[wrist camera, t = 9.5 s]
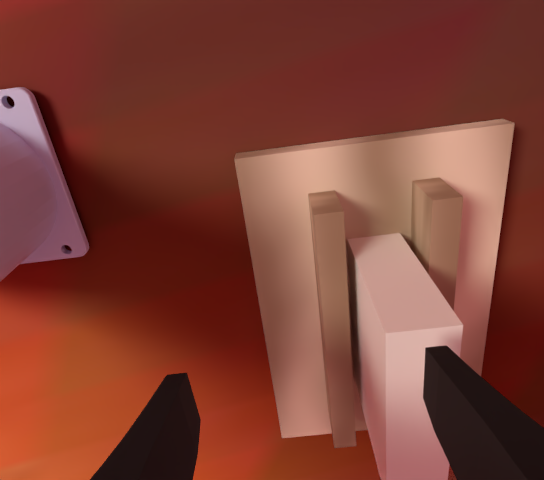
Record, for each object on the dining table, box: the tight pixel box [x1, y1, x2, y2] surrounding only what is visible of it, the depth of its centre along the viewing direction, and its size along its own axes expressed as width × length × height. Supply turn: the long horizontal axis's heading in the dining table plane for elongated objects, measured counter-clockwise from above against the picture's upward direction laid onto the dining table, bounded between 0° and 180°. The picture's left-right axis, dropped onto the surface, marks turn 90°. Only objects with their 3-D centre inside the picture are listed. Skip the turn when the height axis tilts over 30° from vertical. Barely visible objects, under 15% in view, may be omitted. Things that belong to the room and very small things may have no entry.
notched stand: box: [234, 119, 515, 448], centre depth 21 cm, size 12×18×4 cm, turn 7°
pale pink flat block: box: [347, 233, 463, 480], centre depth 18 cm, size 3×9×7 cm, turn 7°
